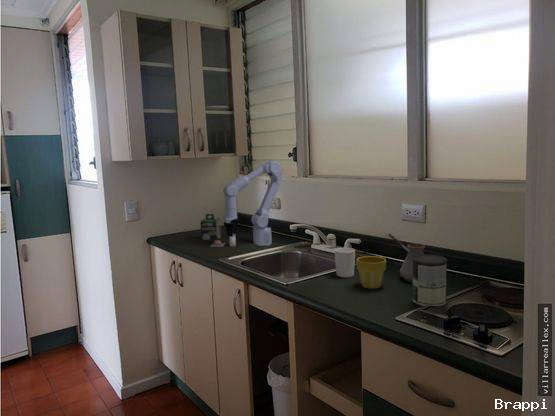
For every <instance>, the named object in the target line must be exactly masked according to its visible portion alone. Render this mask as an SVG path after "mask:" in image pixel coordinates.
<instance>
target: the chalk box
mask: <svg viewBox="0 0 555 416" xmlns="http://www.w3.org/2000/svg"><path fill="white" fill-rule="evenodd" d="M204 215H205V218H203V219H202V220H201V221H199V223H200V233H201V240H202V241H204V240H205V241H207V240H209V241H210V240H214V241H216V240H220V238H222V233H221V231H222V230H221V219H220V217H215V214H214V213H206V214H204ZM209 216H210V217H209Z"/></svg>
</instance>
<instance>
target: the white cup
mask: <svg viewBox="0 0 555 416" xmlns="http://www.w3.org/2000/svg"><path fill="white" fill-rule="evenodd" d="M334 259H335V261H334V262H335V263H334V264H335V271H336V276H337V277H340V278H352V277H354V275H355V264H356V260H355V259H356V249H355V248H352V247H338V248H335V249H334Z"/></svg>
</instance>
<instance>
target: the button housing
mask: <svg viewBox="0 0 555 416" xmlns="http://www.w3.org/2000/svg"><path fill="white" fill-rule="evenodd" d="M224 245H226V243H225V242H221V245H215V242H213V243H211V245H210V248H223V247H224Z"/></svg>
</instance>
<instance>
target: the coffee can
mask: <svg viewBox="0 0 555 416" xmlns="http://www.w3.org/2000/svg"><path fill="white" fill-rule="evenodd" d="M447 262H448V258H446V257H444V256H441V255H438V254H424V255H417V256H414V257H413V282H412V302H413V303H415V304H416V305H419V306H423V307H428V306H438V307H442V306H445V305H446V303H447V267H448V266H447Z"/></svg>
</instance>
